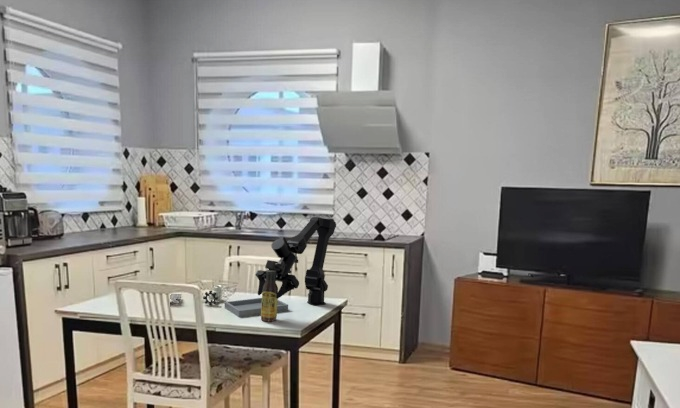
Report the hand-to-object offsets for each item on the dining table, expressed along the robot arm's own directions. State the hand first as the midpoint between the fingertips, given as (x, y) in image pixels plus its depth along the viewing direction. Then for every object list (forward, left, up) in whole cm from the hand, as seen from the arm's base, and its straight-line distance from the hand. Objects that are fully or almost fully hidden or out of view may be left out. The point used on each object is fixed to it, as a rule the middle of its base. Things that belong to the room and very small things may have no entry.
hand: (267, 296), depth 197 cm
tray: (-3, -19, -10) cm, 21 cm away
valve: (+8, -38, -10) cm, 40 cm away
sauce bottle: (-1, -1, -10) cm, 10 cm away
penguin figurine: (+24, -48, -10) cm, 54 cm away
